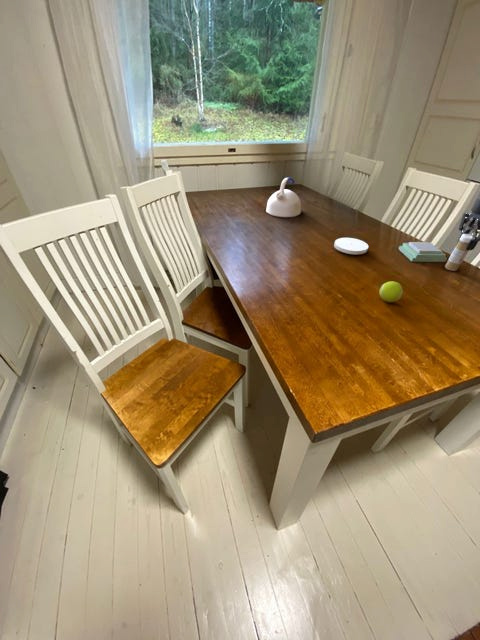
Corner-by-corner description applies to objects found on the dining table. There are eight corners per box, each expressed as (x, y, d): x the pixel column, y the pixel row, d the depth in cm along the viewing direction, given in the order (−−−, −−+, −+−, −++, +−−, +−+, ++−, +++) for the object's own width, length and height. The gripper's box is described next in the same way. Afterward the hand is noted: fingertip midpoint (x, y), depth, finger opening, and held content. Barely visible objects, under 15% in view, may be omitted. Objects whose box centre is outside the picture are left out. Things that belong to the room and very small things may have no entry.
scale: (429, 249, 121) (432, 243, 119) (445, 262, 112) (449, 255, 110) (398, 249, 121) (400, 242, 119) (411, 261, 112) (414, 254, 110)
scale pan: (428, 245, 118) (429, 242, 117) (440, 254, 111) (442, 251, 110) (407, 245, 118) (409, 241, 117) (418, 254, 111) (420, 250, 110)
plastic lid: (373, 252, 118) (375, 246, 116) (351, 259, 112) (353, 253, 111) (348, 240, 127) (350, 235, 126) (326, 246, 122) (328, 241, 120)
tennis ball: (378, 292, 93) (385, 275, 89) (399, 298, 91) (407, 281, 86) (374, 302, 89) (381, 284, 84) (397, 308, 86) (405, 290, 82)
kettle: (259, 213, 156) (261, 178, 145) (275, 204, 170) (278, 172, 159) (292, 220, 148) (297, 183, 137) (306, 210, 162) (311, 176, 151)
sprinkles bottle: (452, 265, 109) (471, 233, 100) (459, 271, 106) (480, 238, 97) (441, 265, 109) (459, 233, 100) (448, 271, 105) (467, 238, 97)
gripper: (520, 205, 85) (487, 255, 96) (487, 192, 96) (462, 239, 107) (496, 204, 85) (466, 255, 96) (466, 192, 96) (443, 239, 107)
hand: (464, 246), depth 101 cm, fingers closed on sprinkles bottle, 4 cm apart
